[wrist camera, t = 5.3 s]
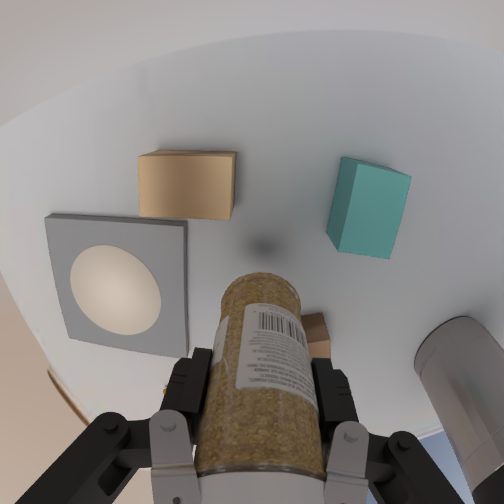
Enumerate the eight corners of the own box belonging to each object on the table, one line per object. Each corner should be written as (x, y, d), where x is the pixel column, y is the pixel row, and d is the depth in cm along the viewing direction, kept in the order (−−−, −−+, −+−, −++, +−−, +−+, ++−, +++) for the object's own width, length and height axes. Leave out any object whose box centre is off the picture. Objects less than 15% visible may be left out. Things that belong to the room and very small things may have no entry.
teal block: (388, 167, 22) (411, 177, 18) (371, 238, 24) (389, 259, 20) (341, 156, 22) (358, 163, 18) (325, 231, 24) (337, 251, 20)
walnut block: (321, 311, 27) (330, 339, 23) (323, 344, 28) (331, 373, 25) (255, 321, 27) (254, 351, 24) (262, 354, 29) (262, 384, 25)
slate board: (186, 221, 24) (183, 227, 22) (188, 351, 29) (186, 359, 28) (51, 213, 23) (43, 218, 22) (73, 331, 28) (68, 338, 27)
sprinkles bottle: (206, 300, 18) (141, 534, 5) (266, 252, 17) (267, 525, 4) (258, 347, 19) (250, 563, 7) (317, 307, 18) (367, 541, 5)
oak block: (236, 151, 22) (232, 156, 18) (234, 204, 23) (229, 220, 20) (156, 150, 22) (137, 156, 18) (157, 201, 23) (139, 216, 20)
